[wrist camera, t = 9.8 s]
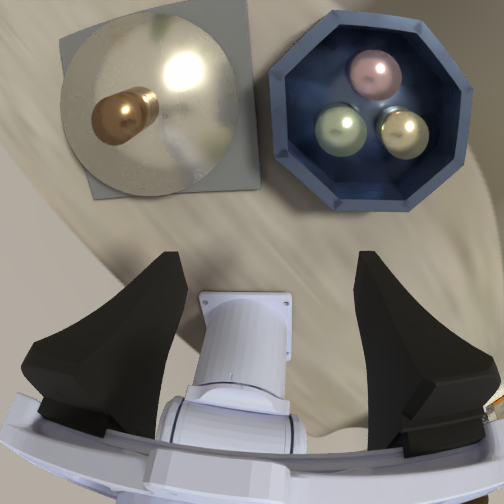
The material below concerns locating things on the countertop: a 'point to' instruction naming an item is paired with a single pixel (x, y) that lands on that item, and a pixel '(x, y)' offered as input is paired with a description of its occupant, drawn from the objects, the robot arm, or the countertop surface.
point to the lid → (149, 104)
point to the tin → (369, 112)
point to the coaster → (239, 54)
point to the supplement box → (499, 408)
